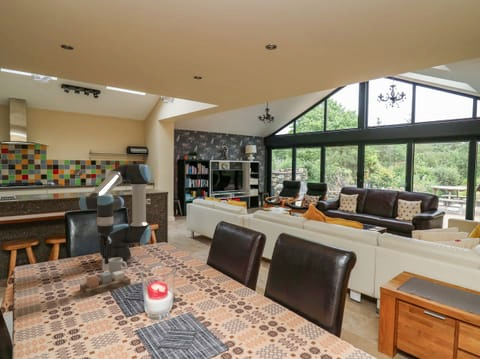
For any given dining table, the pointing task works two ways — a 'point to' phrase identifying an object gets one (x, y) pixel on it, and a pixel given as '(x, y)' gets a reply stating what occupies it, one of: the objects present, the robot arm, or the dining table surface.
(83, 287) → the key block
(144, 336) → the dining table surface
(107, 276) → the slate key
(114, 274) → the cream key
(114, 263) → the cup
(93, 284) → the terracotta key
